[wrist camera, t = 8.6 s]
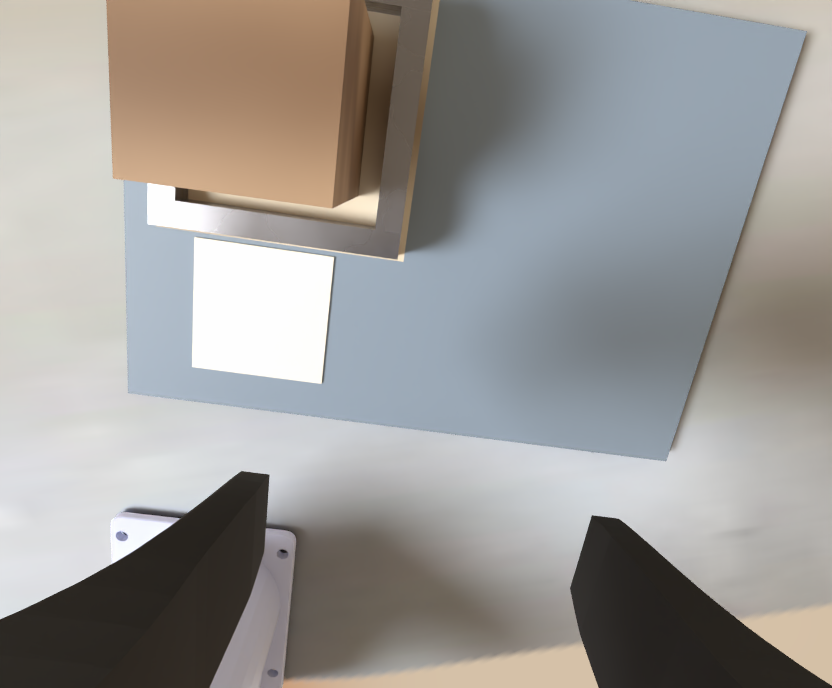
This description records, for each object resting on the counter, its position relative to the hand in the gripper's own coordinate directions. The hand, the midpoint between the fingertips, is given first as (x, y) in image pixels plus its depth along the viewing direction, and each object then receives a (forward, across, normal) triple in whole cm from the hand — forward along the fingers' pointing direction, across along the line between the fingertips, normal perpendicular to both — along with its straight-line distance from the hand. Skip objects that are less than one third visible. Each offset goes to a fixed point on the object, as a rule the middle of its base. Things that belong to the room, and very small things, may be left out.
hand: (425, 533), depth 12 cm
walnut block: (+8, +5, -9) cm, 13 cm away
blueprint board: (+10, 0, -6) cm, 12 cm away
